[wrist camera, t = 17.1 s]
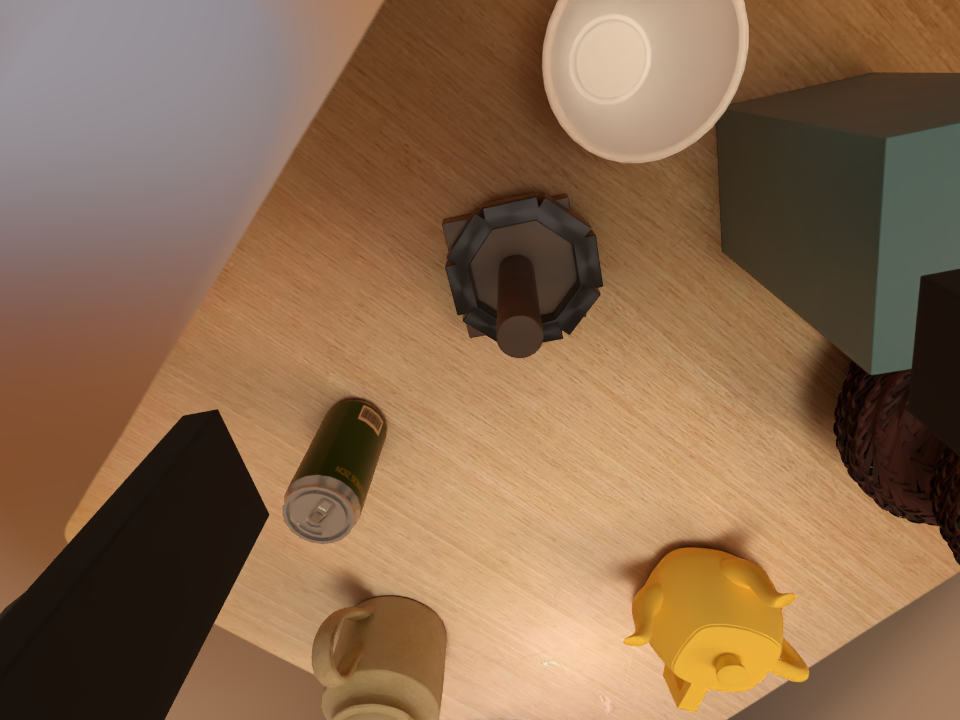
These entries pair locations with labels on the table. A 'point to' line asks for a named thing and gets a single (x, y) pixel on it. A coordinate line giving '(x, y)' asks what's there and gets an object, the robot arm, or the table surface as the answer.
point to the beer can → (335, 473)
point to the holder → (519, 278)
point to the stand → (846, 203)
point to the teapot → (713, 624)
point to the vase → (897, 453)
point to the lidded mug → (381, 661)
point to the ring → (513, 214)
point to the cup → (643, 72)
